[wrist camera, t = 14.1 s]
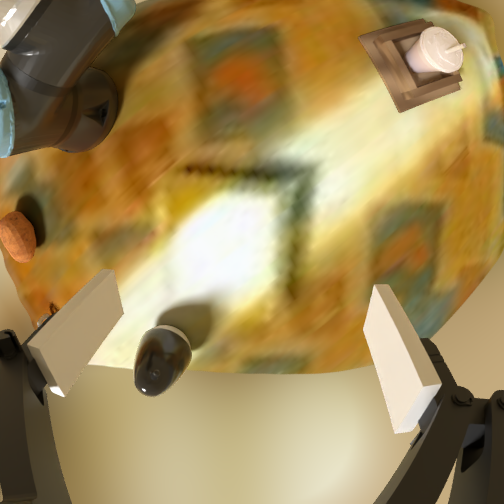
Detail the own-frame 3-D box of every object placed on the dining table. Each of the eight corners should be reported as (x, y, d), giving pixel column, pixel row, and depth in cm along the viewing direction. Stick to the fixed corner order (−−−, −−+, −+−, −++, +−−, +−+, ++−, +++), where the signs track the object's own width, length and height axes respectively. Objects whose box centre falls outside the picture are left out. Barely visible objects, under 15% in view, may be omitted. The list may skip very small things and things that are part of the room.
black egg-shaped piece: (205, 334, 55) (184, 393, 41) (184, 363, 58) (162, 418, 44) (159, 307, 53) (125, 360, 39) (142, 339, 57) (111, 390, 43)
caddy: (357, 37, 32) (365, 28, 28) (421, 20, 29) (432, 11, 25) (399, 112, 36) (410, 111, 32) (458, 89, 33) (472, 87, 29)
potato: (32, 201, 48) (7, 211, 41) (49, 250, 51) (27, 265, 45) (11, 213, 49) (-12, 224, 42) (27, 258, 53) (6, 272, 46)
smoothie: (410, 87, 34) (459, 73, 21) (387, 51, 32) (428, 23, 19) (438, 73, 32) (490, 58, 19) (416, 38, 30) (461, 11, 17)
